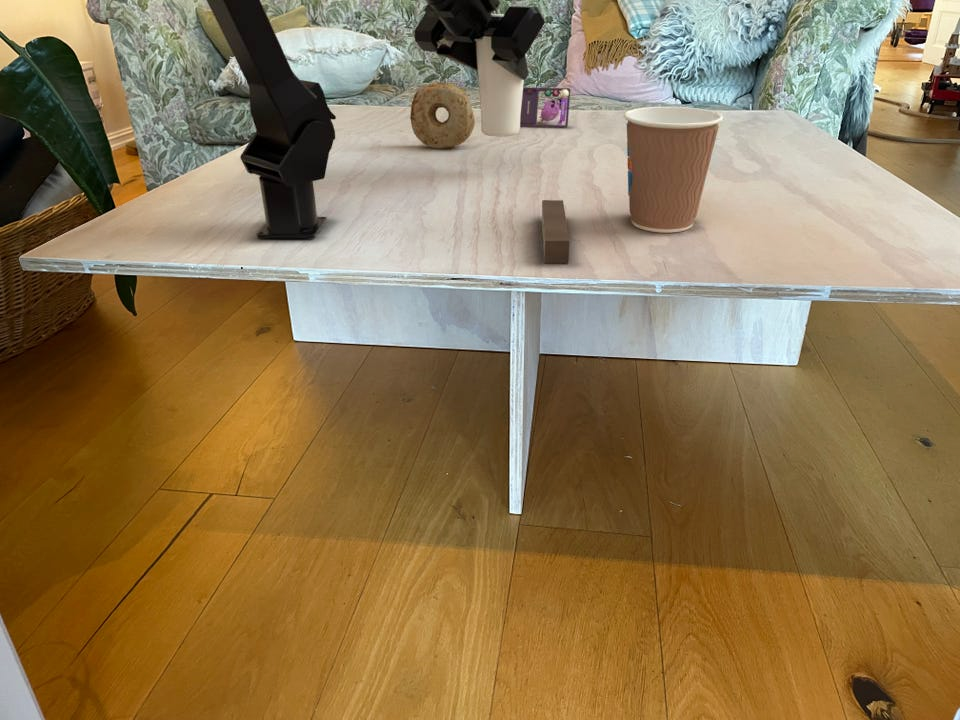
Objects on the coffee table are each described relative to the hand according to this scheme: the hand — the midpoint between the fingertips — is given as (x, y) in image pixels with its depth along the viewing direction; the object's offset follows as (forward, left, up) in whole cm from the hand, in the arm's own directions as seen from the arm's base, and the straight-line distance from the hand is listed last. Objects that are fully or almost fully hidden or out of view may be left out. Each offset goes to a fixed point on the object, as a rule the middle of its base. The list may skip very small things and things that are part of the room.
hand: (507, 75), depth 99 cm
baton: (-29, -6, -13) cm, 32 cm away
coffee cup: (-23, -18, -13) cm, 32 cm away
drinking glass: (-1, +1, -8) cm, 8 cm away
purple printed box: (+35, -6, -13) cm, 38 cm away
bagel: (+16, +11, -13) cm, 24 cm away
